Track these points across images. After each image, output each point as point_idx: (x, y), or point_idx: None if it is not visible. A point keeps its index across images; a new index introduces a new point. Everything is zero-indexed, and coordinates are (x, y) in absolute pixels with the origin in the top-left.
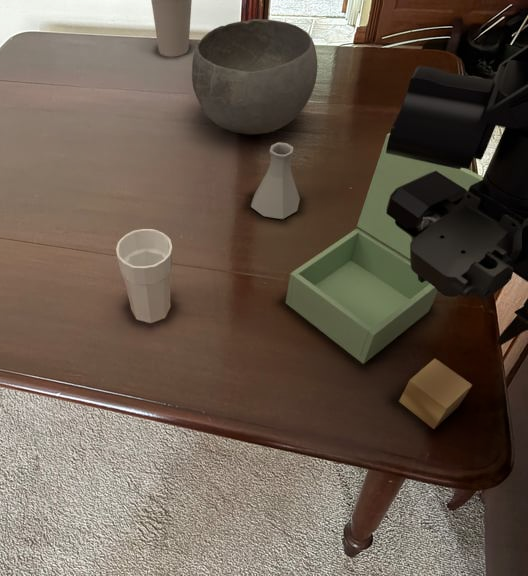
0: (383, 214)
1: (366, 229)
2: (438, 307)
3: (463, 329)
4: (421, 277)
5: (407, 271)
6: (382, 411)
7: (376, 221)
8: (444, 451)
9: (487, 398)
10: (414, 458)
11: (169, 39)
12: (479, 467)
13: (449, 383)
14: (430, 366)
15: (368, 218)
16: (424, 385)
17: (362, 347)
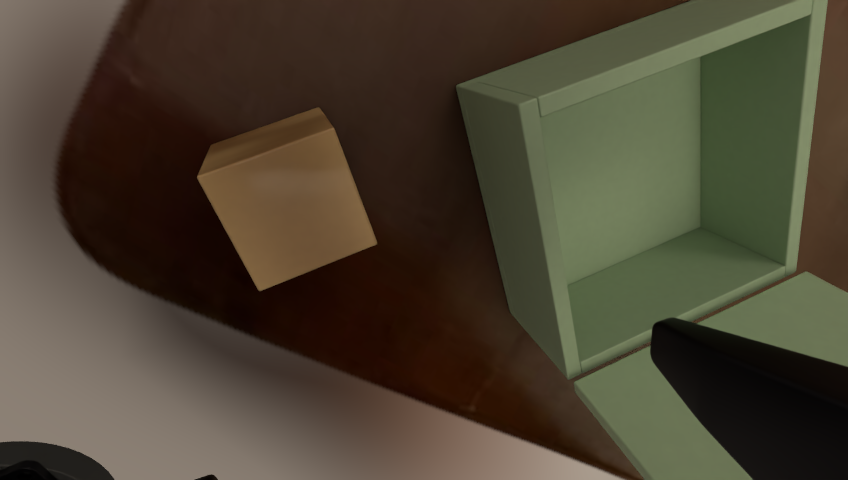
0: (839, 347)
1: (789, 287)
2: (508, 334)
3: (440, 353)
4: (691, 335)
5: (628, 318)
6: (304, 43)
7: (814, 319)
8: (135, 132)
9: (261, 313)
10: (128, 34)
11: None
12: (65, 192)
13: (282, 234)
14: (356, 216)
15: (830, 305)
16: (299, 160)
17: (497, 85)
